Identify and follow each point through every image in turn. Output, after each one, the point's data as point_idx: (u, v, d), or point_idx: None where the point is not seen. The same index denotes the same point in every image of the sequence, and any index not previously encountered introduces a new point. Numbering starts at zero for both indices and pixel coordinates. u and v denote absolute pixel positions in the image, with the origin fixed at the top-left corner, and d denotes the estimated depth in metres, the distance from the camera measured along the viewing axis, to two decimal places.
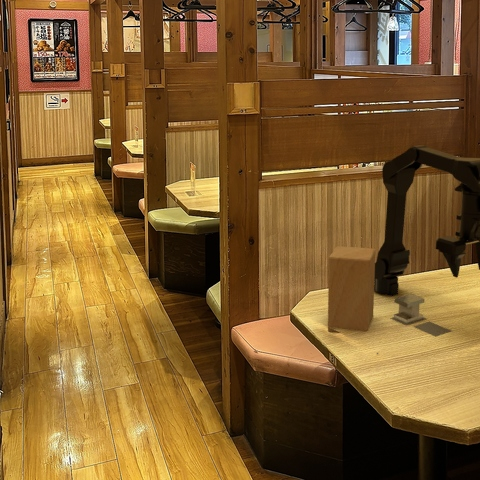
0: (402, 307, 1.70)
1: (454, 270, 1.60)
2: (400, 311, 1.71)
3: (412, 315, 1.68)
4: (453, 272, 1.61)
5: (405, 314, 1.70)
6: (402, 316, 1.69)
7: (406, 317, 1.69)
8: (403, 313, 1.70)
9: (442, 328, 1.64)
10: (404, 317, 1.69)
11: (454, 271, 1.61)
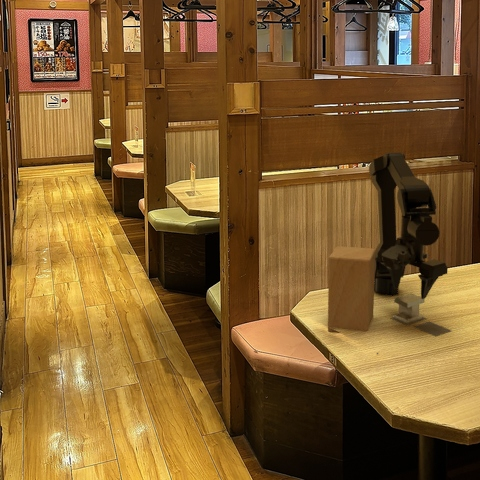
0: (402, 307, 1.70)
1: None
2: (400, 311, 1.71)
3: (412, 315, 1.68)
4: None
5: (405, 314, 1.70)
6: (402, 316, 1.69)
7: (406, 317, 1.69)
8: (403, 313, 1.70)
9: (442, 328, 1.64)
10: (404, 317, 1.69)
11: None
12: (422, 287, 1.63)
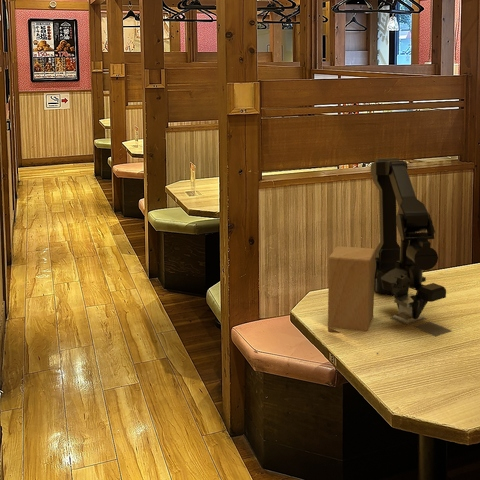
0: (402, 307, 1.70)
1: None
2: (400, 311, 1.71)
3: (412, 315, 1.68)
4: None
5: (405, 314, 1.70)
6: (402, 316, 1.69)
7: (406, 317, 1.69)
8: (403, 313, 1.70)
9: (442, 328, 1.64)
10: (404, 317, 1.69)
11: None
12: (414, 308, 1.67)
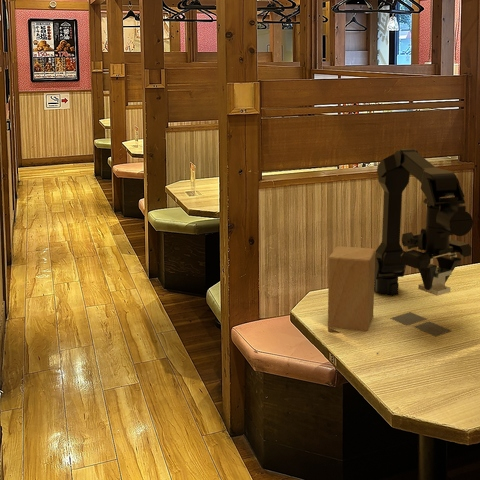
0: None
1: None
2: None
3: None
4: None
5: None
6: None
7: None
8: None
9: (442, 328, 1.64)
10: None
11: None
12: None
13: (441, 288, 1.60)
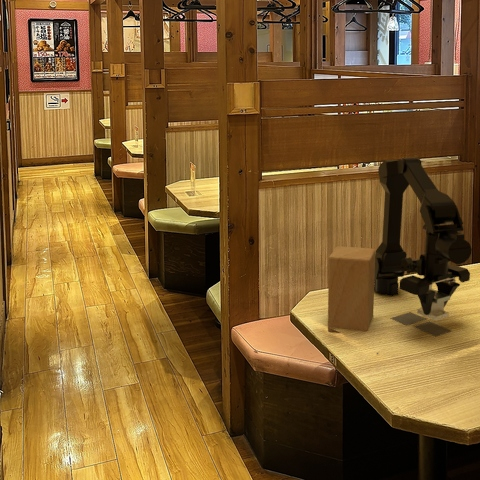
0: None
1: None
2: None
3: None
4: None
5: None
6: None
7: None
8: None
9: (442, 328, 1.64)
10: None
11: None
12: None
13: (439, 313, 1.61)
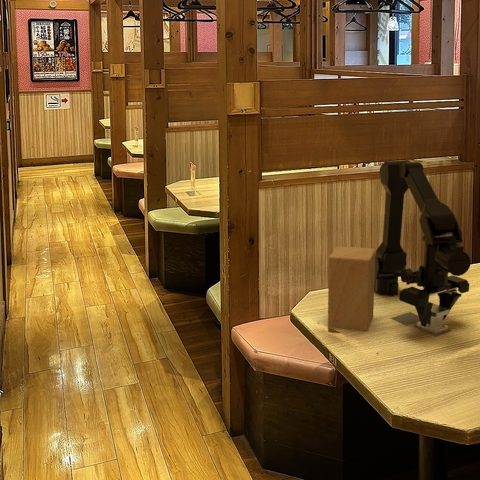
0: None
1: None
2: None
3: None
4: None
5: None
6: None
7: None
8: None
9: None
10: None
11: None
12: None
13: (439, 327, 1.62)
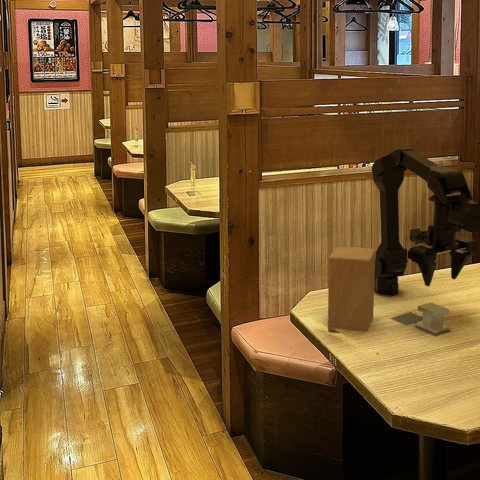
0: None
1: None
2: None
3: (423, 322, 1.64)
4: None
5: None
6: None
7: None
8: None
9: None
10: None
11: None
12: None
13: (439, 327, 1.62)
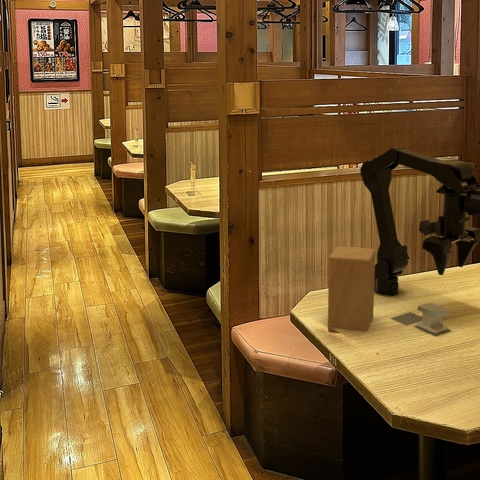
0: None
1: None
2: None
3: (423, 322, 1.64)
4: None
5: None
6: None
7: None
8: None
9: None
10: None
11: None
12: None
13: (439, 327, 1.62)
